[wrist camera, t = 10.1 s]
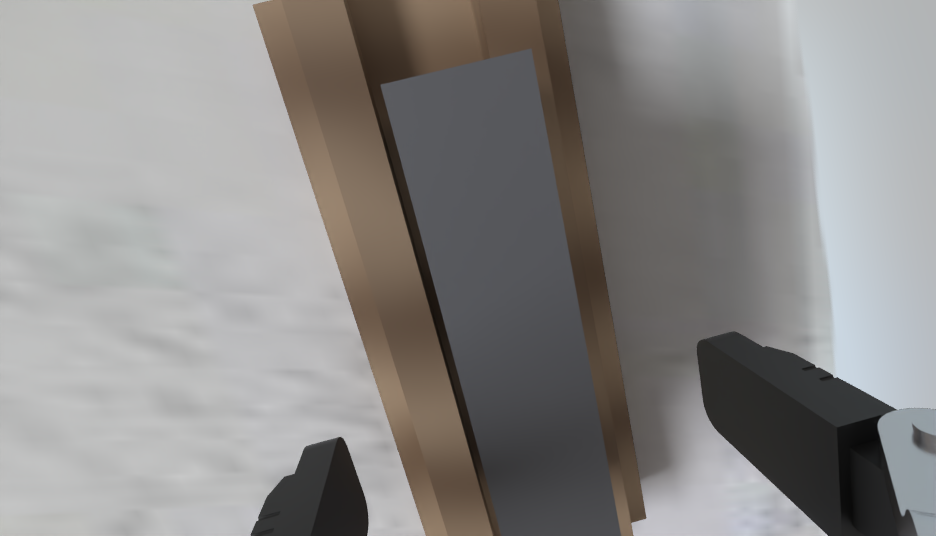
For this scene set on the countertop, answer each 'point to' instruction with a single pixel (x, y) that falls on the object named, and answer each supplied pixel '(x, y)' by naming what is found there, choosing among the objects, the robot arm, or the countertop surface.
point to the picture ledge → (397, 233)
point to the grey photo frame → (506, 290)
